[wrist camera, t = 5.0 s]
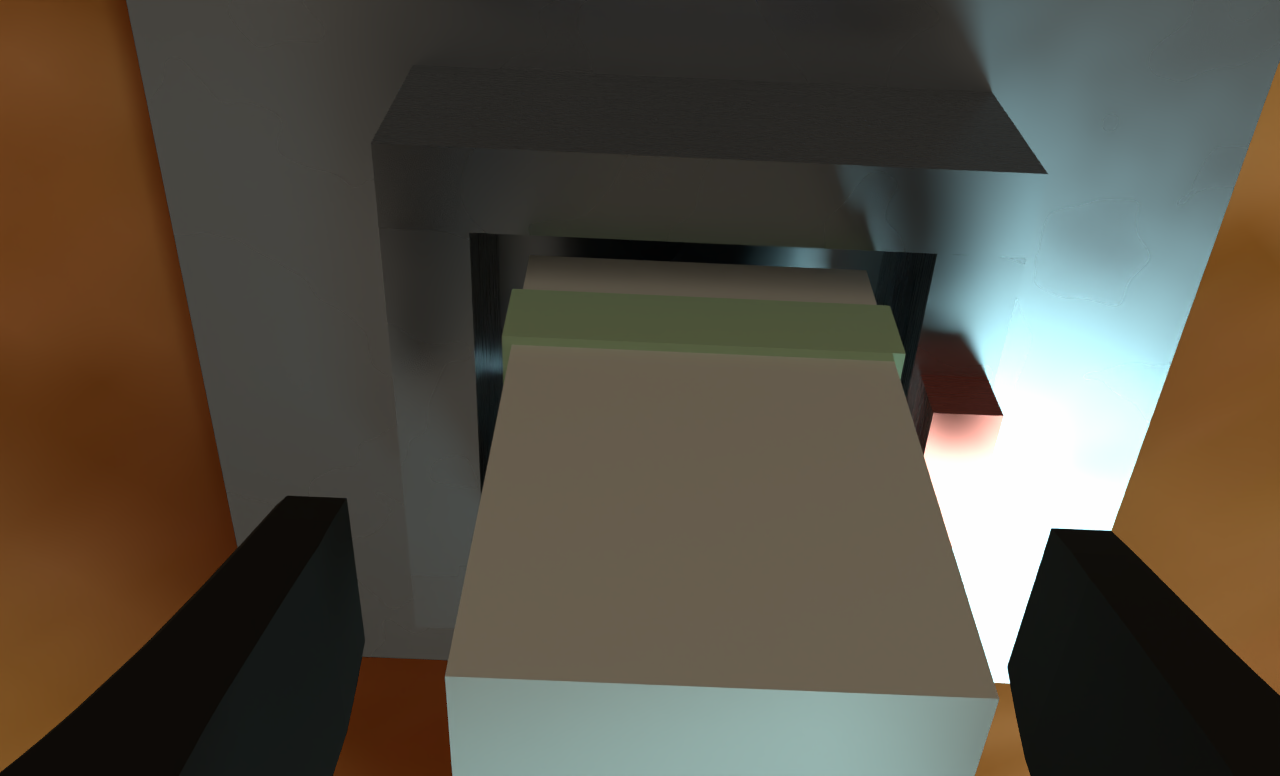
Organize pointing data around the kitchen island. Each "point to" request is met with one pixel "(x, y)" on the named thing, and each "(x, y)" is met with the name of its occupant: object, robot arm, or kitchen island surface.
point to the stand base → (690, 230)
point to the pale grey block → (709, 539)
